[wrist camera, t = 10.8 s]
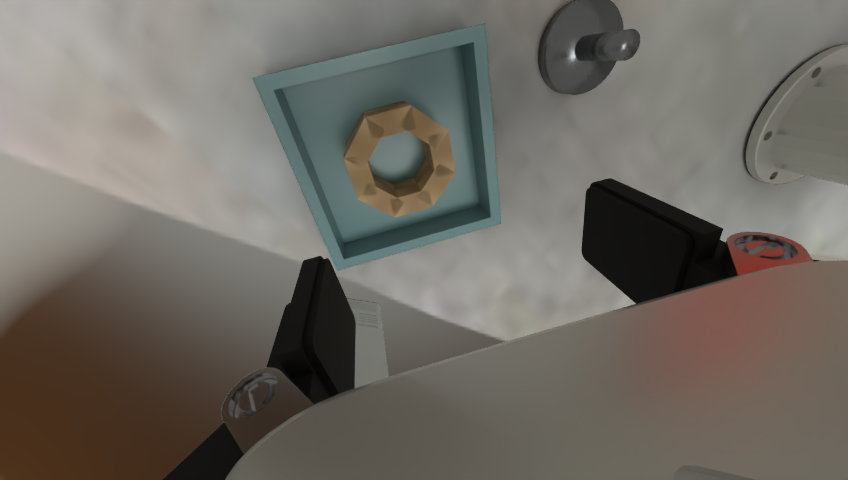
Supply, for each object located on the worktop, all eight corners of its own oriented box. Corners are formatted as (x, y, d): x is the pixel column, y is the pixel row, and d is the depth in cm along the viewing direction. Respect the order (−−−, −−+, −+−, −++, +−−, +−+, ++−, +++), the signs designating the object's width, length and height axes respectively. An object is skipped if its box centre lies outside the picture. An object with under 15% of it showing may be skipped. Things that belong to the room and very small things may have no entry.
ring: (432, 93, 22) (443, 97, 19) (448, 185, 25) (459, 199, 23) (334, 118, 21) (332, 125, 19) (365, 208, 25) (367, 225, 22)
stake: (618, -11, 22) (684, -29, 17) (608, 83, 25) (662, 87, 20) (538, 8, 21) (586, -6, 17) (538, 101, 24) (579, 109, 20)
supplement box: (304, 289, 28) (276, 427, 17) (381, 302, 31) (399, 429, 20) (289, 347, 31) (256, 496, 20) (361, 354, 34) (366, 490, 23)
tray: (466, 28, 21) (485, 23, 18) (485, 207, 28) (501, 223, 25) (266, 76, 20) (252, 77, 17) (338, 249, 27) (337, 270, 24)
